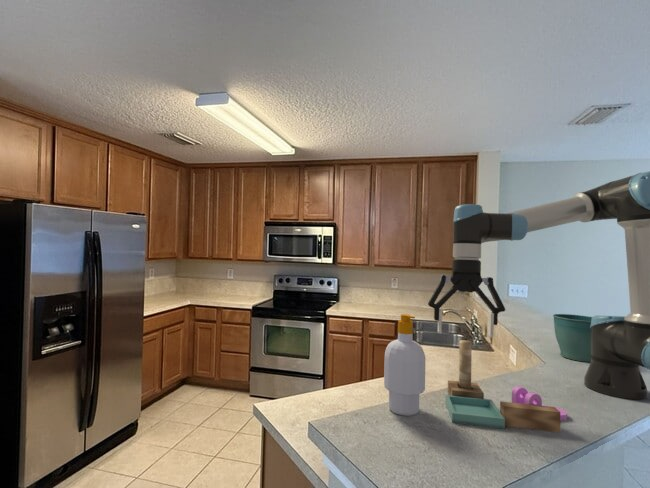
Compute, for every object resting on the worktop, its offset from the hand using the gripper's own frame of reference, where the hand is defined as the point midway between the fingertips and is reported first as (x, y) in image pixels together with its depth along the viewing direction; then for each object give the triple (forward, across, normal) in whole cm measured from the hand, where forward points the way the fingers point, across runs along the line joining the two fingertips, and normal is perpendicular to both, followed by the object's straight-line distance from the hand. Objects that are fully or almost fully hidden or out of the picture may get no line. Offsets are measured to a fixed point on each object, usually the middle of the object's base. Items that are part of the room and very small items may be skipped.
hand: (464, 334), depth 99 cm
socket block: (+18, 0, 0) cm, 18 cm away
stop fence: (+18, -12, +13) cm, 25 cm away
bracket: (+18, -18, +6) cm, 26 cm away
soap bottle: (+18, +16, +12) cm, 27 cm away
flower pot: (+17, -56, -60) cm, 84 cm away
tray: (+18, 0, +10) cm, 21 cm away
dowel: (+18, 0, 0) cm, 18 cm away
